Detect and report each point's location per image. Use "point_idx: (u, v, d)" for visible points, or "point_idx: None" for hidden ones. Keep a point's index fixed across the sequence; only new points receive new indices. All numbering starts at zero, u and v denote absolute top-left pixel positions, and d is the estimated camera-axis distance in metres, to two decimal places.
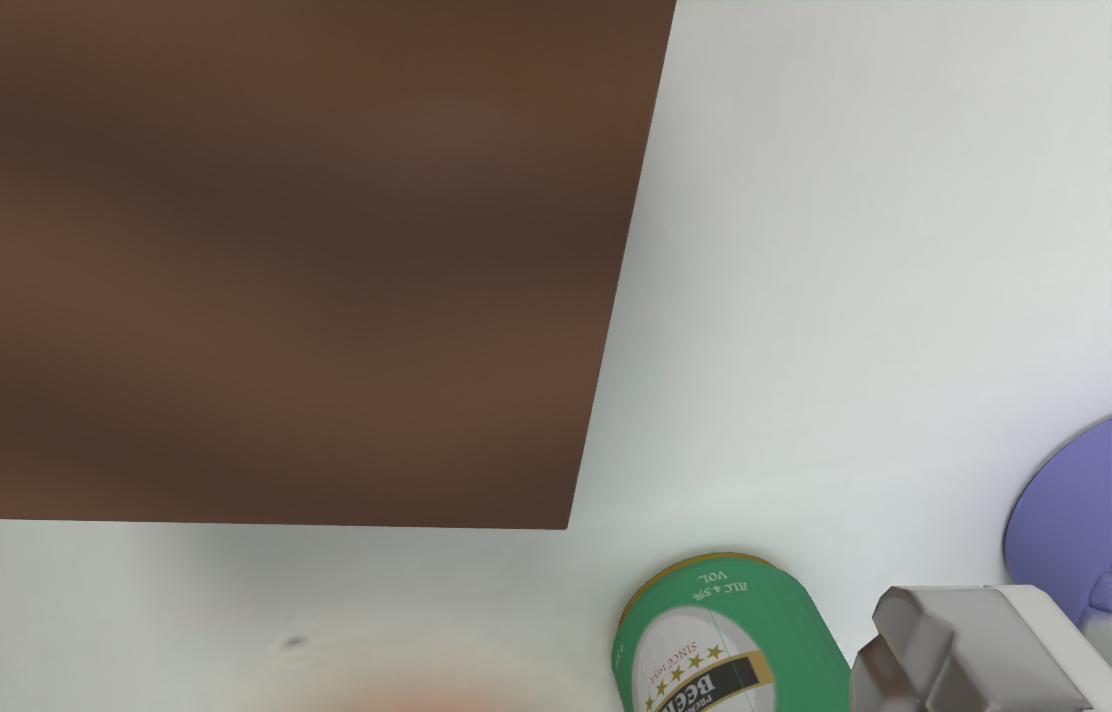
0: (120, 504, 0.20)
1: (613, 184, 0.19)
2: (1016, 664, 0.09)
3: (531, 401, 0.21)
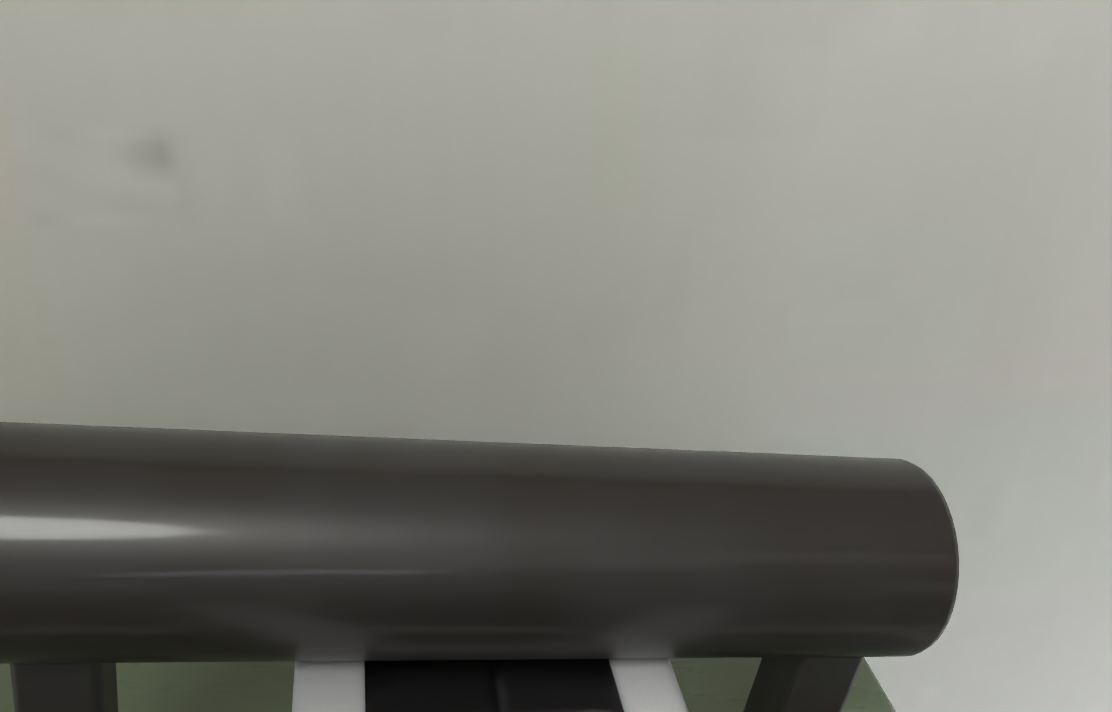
0: None
1: None
2: (559, 670, 0.08)
3: None
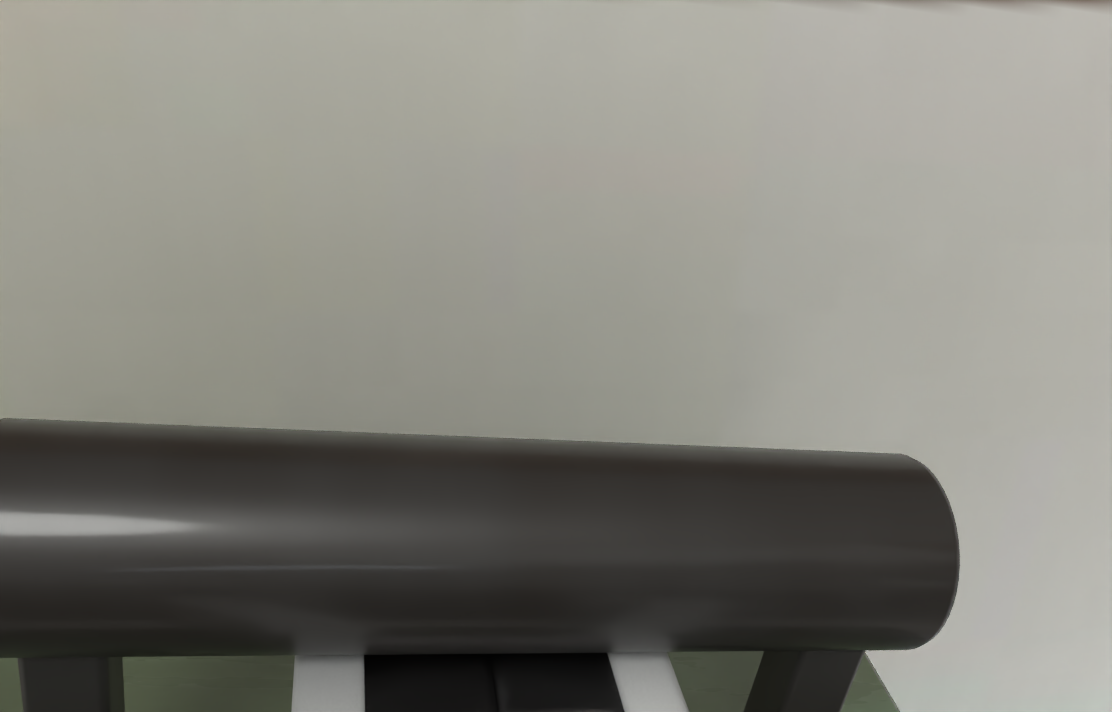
0: None
1: None
2: (560, 670, 0.08)
3: None
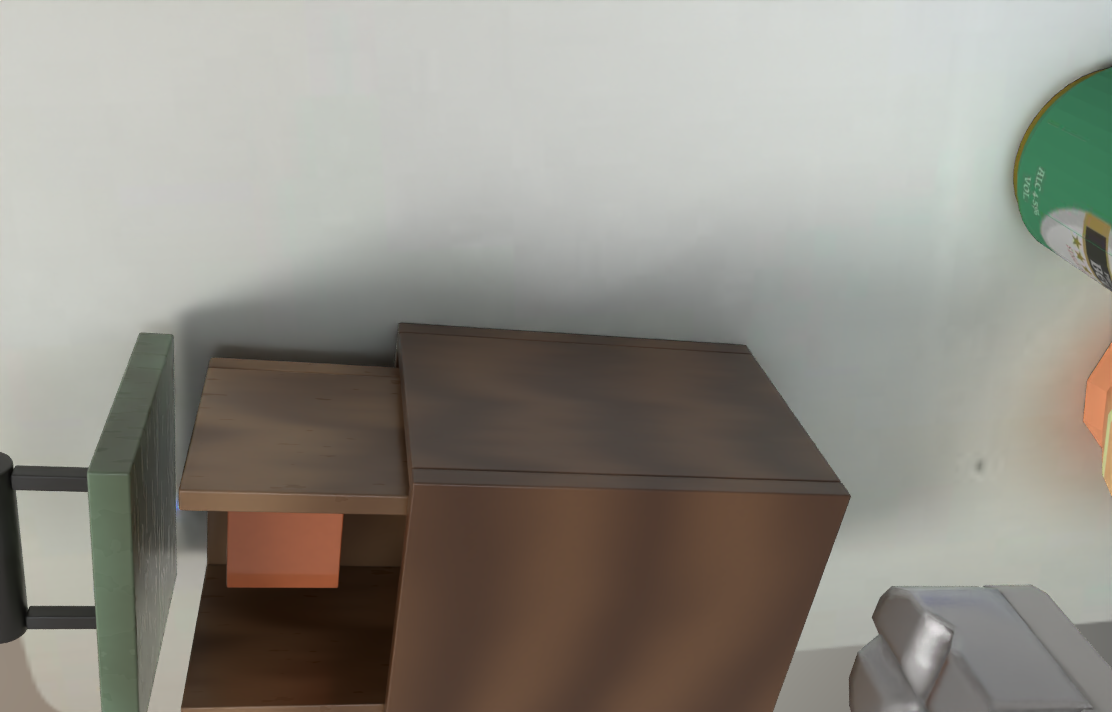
0: (769, 693, 0.38)
1: (621, 501, 0.33)
2: (1016, 664, 0.09)
3: (751, 525, 0.34)
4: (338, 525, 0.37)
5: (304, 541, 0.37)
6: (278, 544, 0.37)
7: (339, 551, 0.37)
